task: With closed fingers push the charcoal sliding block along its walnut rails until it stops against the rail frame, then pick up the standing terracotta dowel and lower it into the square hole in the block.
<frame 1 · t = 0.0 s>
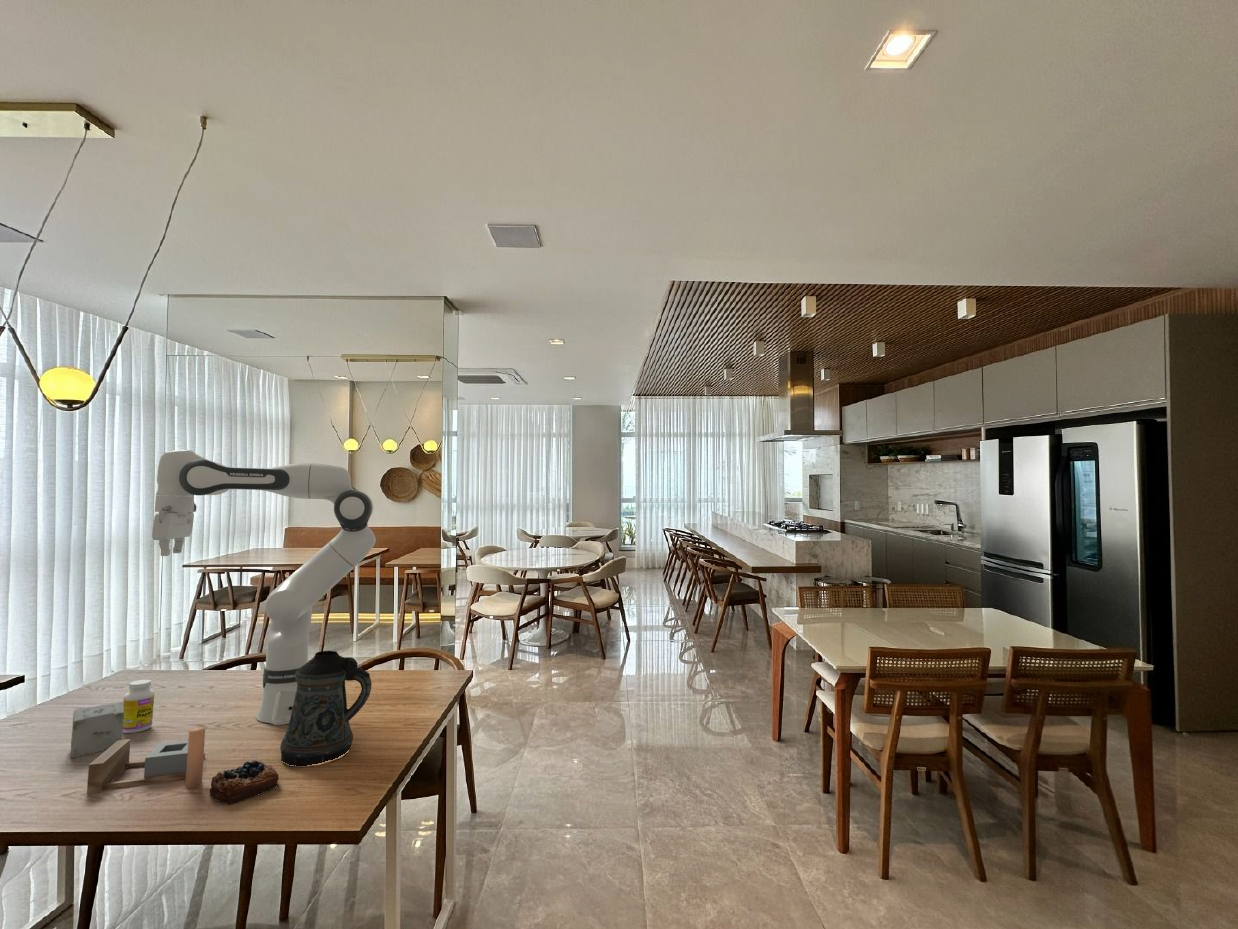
hand: (171, 554, 167), 48 cm above the table, fingers open, 8 cm apart
dowel: (193, 785, 131), on the table
incense holder: (96, 751, 149), on the table
pastry: (244, 792, 129), on the table
beer stein: (323, 753, 149), on the table
rail frame: (108, 778, 133), on the table
supplement bottle: (136, 730, 162), on the table
block: (172, 758, 138), point 3 cm above the table, slide at 0.0 cm
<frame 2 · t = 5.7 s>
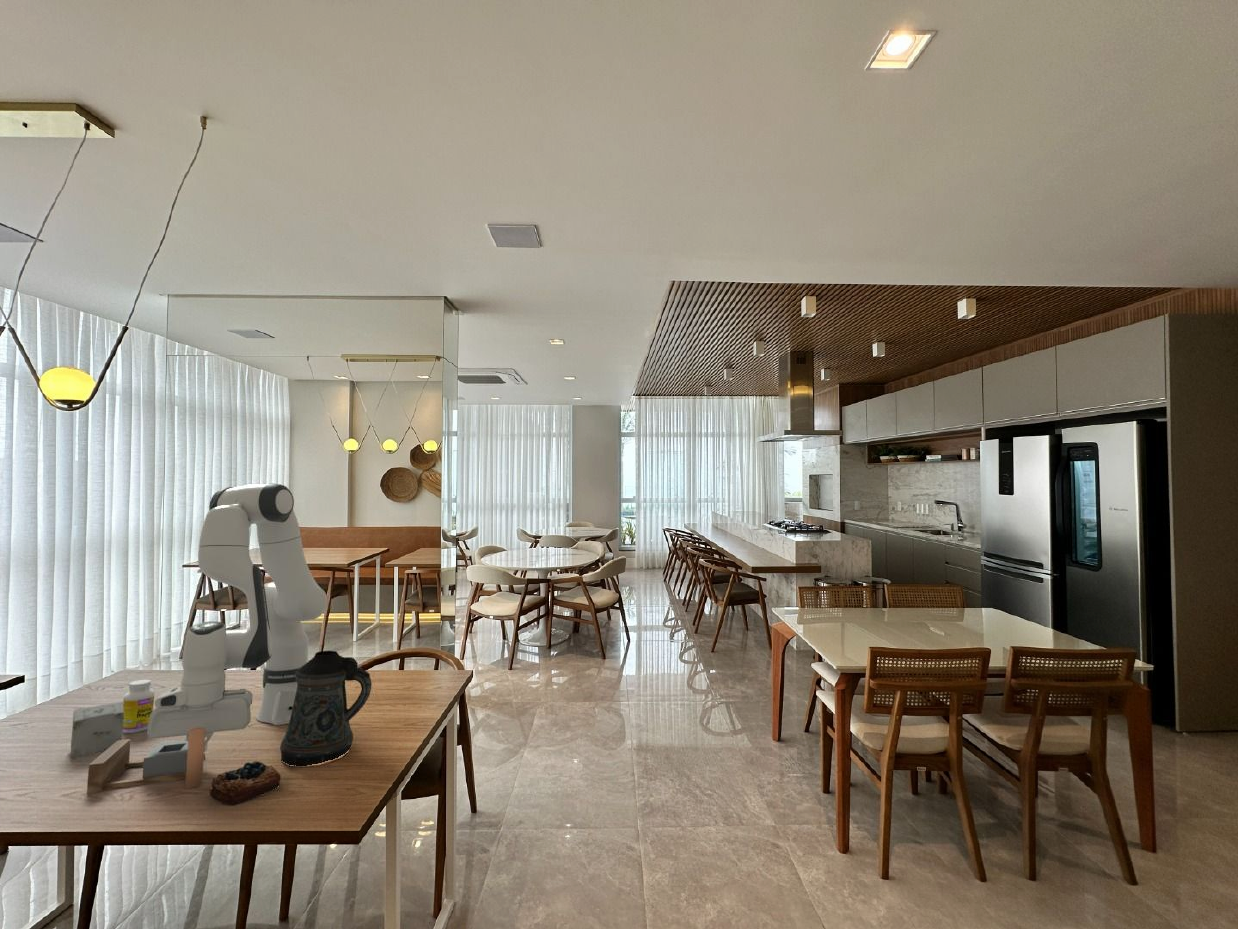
hand: (199, 751, 140), 4 cm above the table, fingers closed
block: (171, 759, 138), point 3 cm above the table, slide at 0.3 cm, touching gripper
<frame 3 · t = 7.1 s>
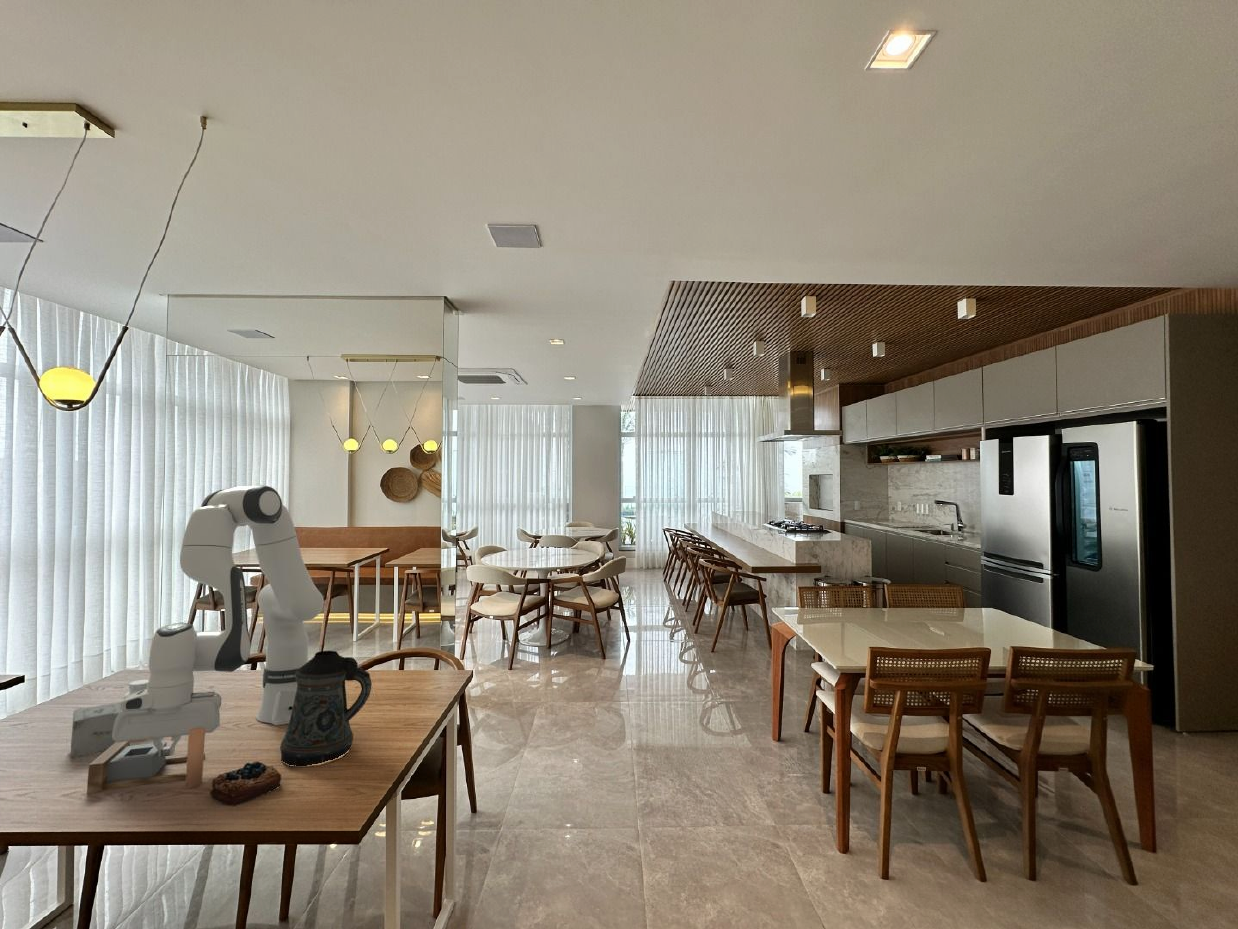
hand: (166, 755, 137), 4 cm above the table, fingers closed
block: (137, 763, 136), point 3 cm above the table, slide at 6.7 cm, touching rail frame, gripper
everything else where it was.
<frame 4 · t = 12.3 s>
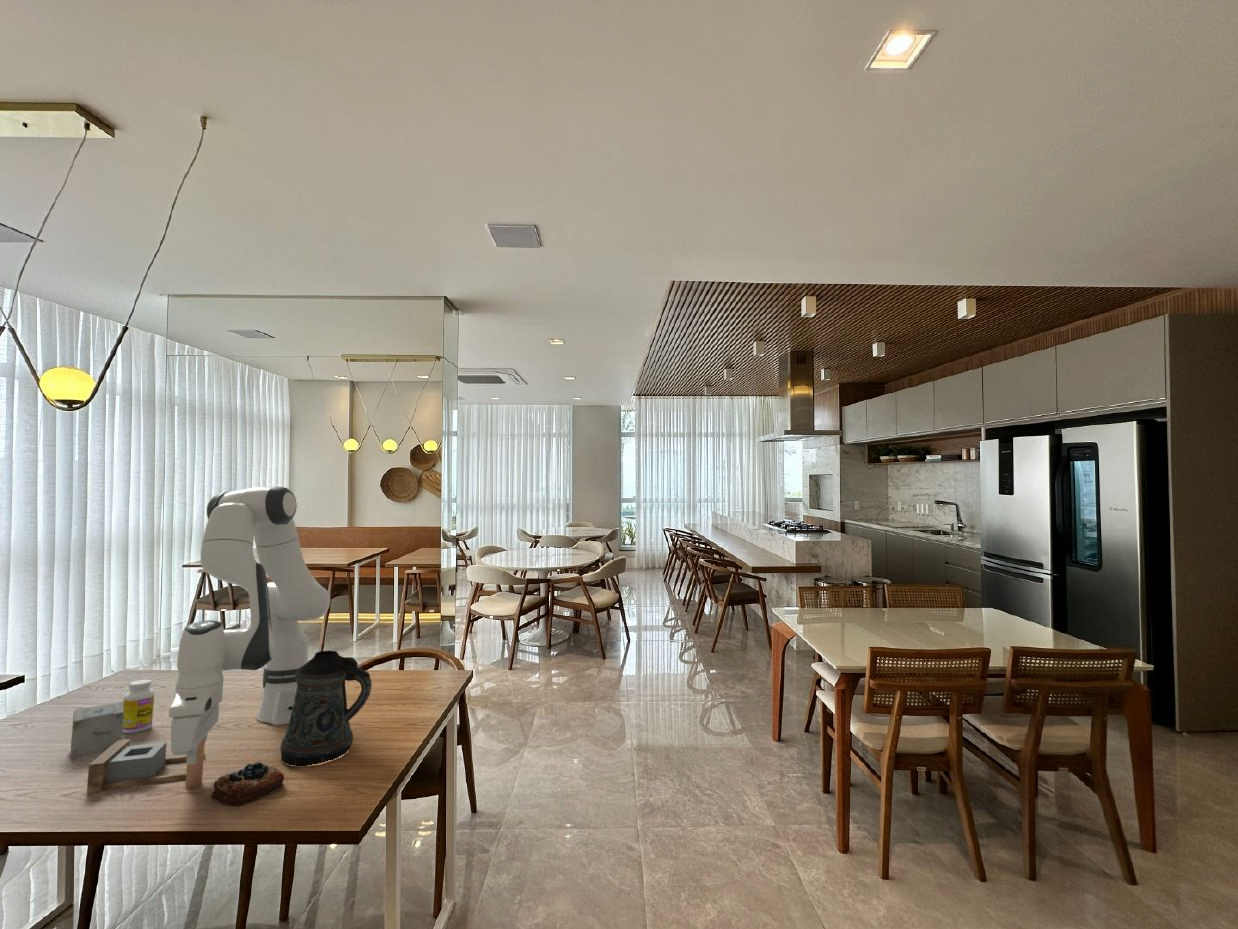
hand: (195, 759, 131), 6 cm above the table, fingers closed on dowel, 3 cm apart
dowel: (193, 785, 131), on the table, touching gripper
block: (137, 763, 136), point 3 cm above the table, slide at 6.7 cm
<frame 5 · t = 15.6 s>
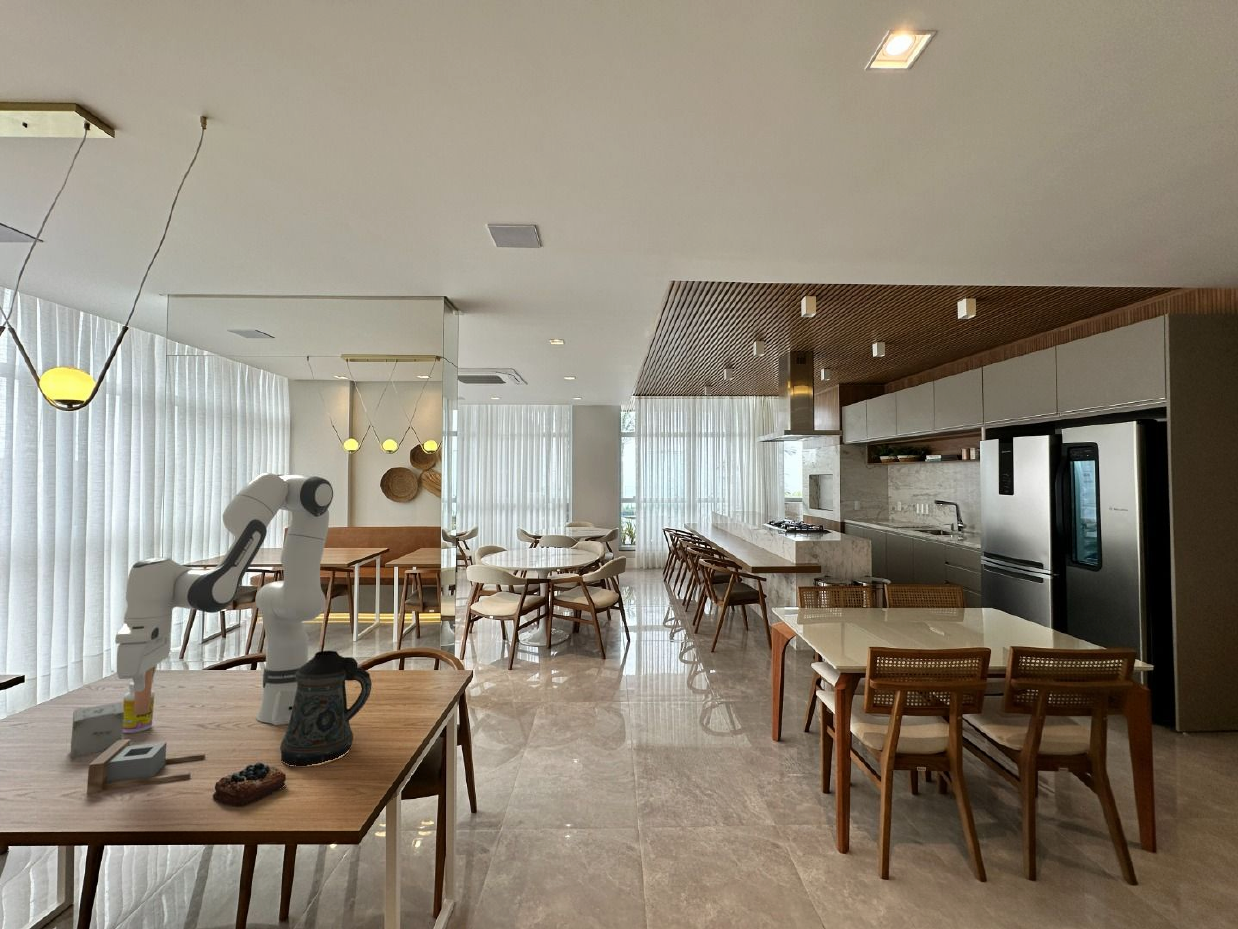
hand: (143, 688, 137), 20 cm above the table, fingers closed on dowel, 3 cm apart
dowel: (141, 712, 136), point 14 cm above the table, touching gripper
when the fingers open (7 cm above the table, at t = 19.0 s): dowel drops 1 cm, resting in block.
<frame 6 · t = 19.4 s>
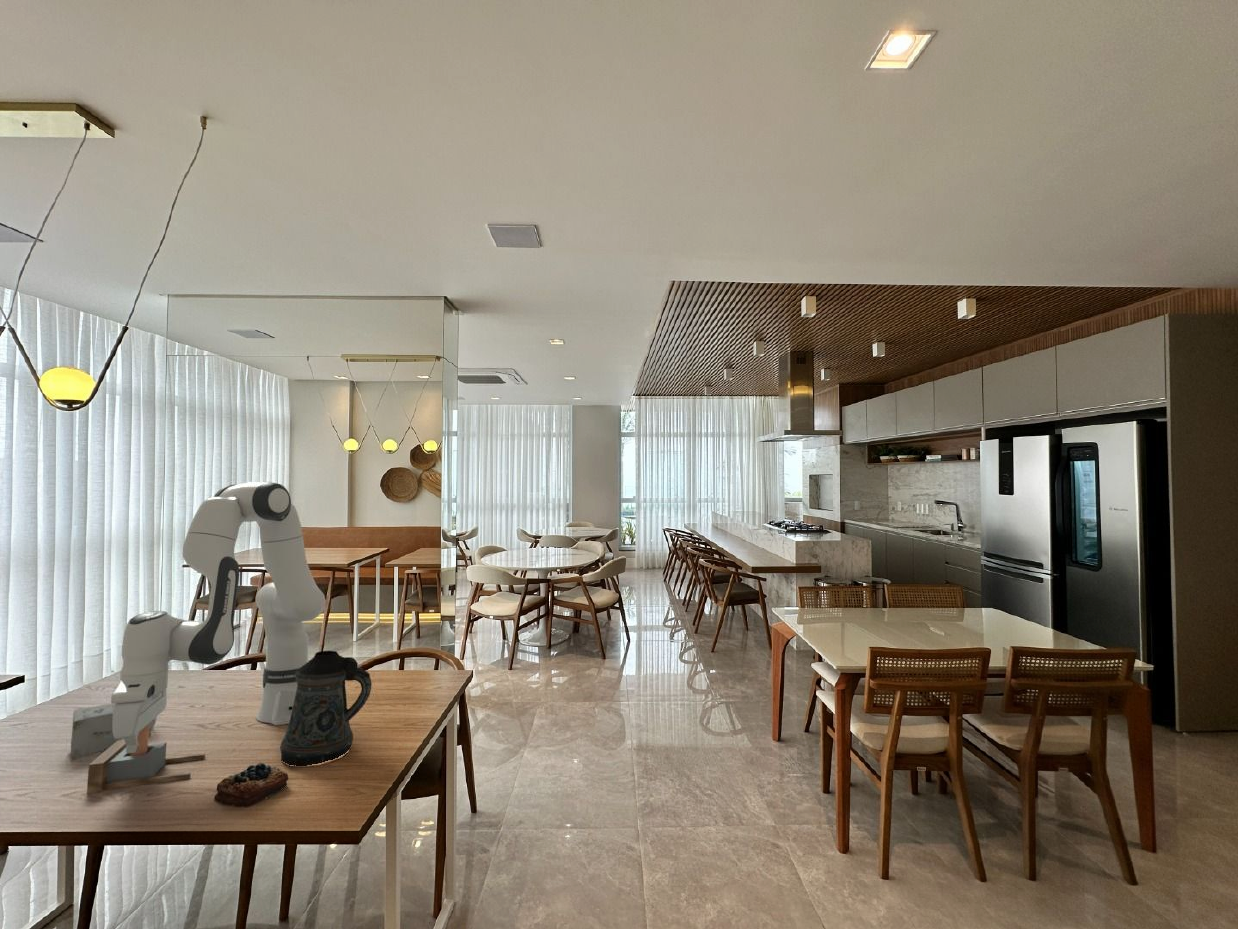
hand: (140, 744, 136), 7 cm above the table, fingers open, 7 cm apart
dowel: (137, 774, 135), resting in block
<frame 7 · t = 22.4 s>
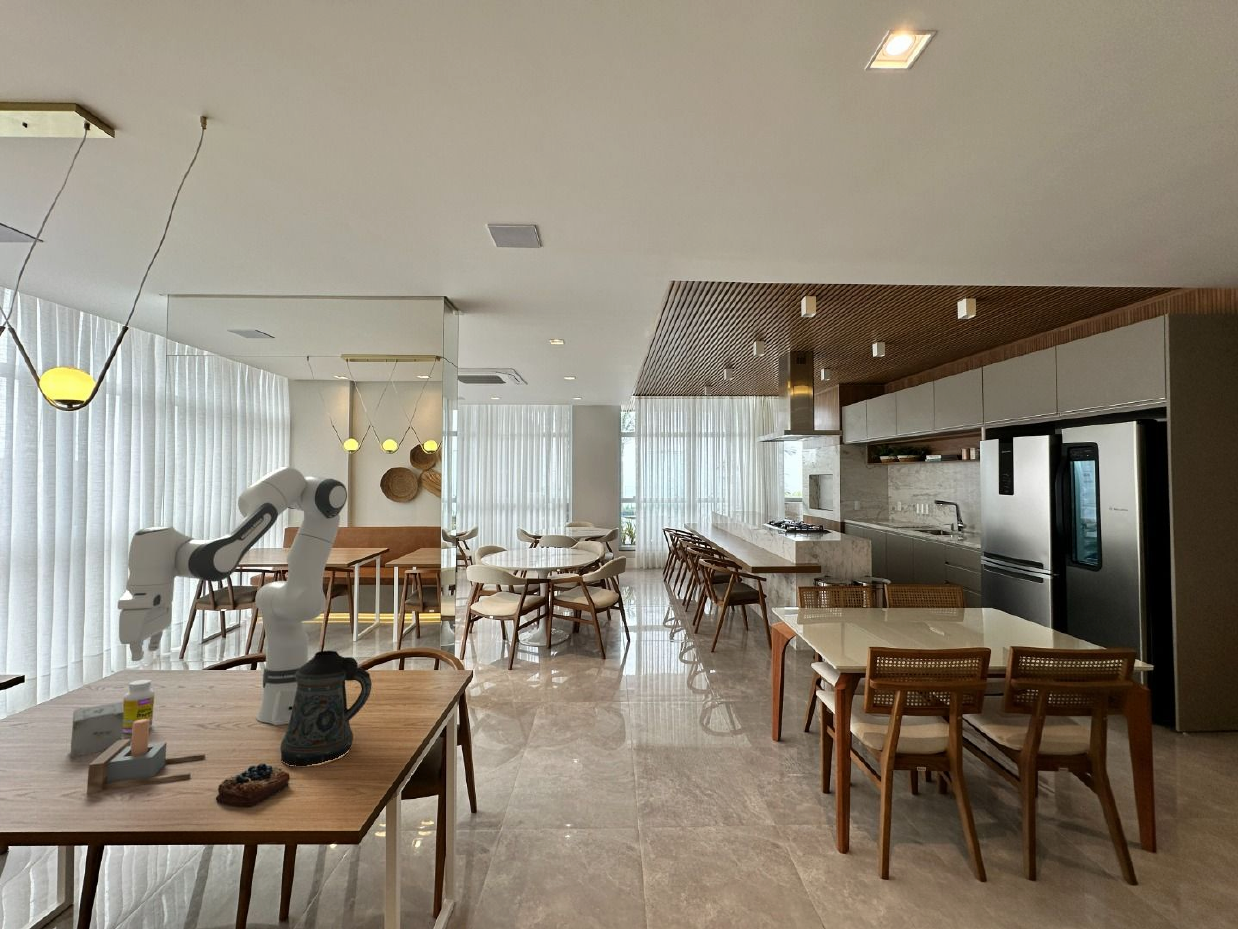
hand: (145, 655, 137), 27 cm above the table, fingers open, 8 cm apart
at the end: block slide at 6.7 cm; dowel 0.1 cm off-centre on the block, point 0.0 cm above the block's base; dowel tilted 0° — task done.
